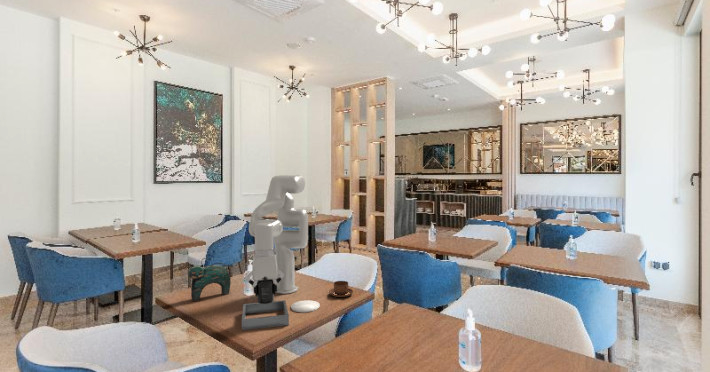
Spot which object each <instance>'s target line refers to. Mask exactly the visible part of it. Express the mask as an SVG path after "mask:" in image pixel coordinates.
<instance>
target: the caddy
mask: <svg viewBox="0 0 710 372" xmlns="http://www.w3.org/2000/svg"><path fill="white" fill-rule="evenodd" d="M287 306H288V305H287V301H286V300H285V299H284V300H274V301H273V302H271V303H268V304H260V303H258V302H253V303H243V306H242V315H241V330H242V331H248V330H257V329H266V328H274V327H283V326H285V327H286V326H289V325H290V324H289V323H290V321H289V320H290V319H289V317H290V314H289V311H288V307H287ZM276 311H277V312H279V311H283V314H281V315H280V314H279V315H271V316H270V315H269V316H260V317H259V316H258V317H250V318H249V317H248V318H246V316H247V314H248V315H250V314H257V313H258V314H259V313H268V312H276Z"/></svg>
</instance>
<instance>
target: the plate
mask: <svg viewBox="0 0 710 372" xmlns="http://www.w3.org/2000/svg"><path fill="white" fill-rule="evenodd" d="M319 307H321V305H320V302H318V301H315V300H309V299H307V300H299V301H295V302H293V303H292V304H291V305H290V309H291V310H292V311H293V312H296V313H302V314H303V313H311V311H312V312H315V311H317V310H319V309H320V308H319ZM318 308H319V309H318Z"/></svg>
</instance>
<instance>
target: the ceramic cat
mask: <svg viewBox="0 0 710 372" xmlns="http://www.w3.org/2000/svg"><path fill="white" fill-rule="evenodd" d="M205 259H206V260H208V261H210V259H209V257H204V258H202V259H201V262H200V263H201V265H200V264H191V265H190V267H189V268H188V270H187V273H188V274H187V275H188V276H189V278H190V279H191V284H190V285H191V288H190V289H191V290H190V291H191V292H190V293H191V295H190V296H191V301H192V300H193V302H197V301H196V300H199V301H200V300H201V295H202V292H203V290H204V289H205V287H206V286H209V285H210V284H217V285H219V286H220V289H221V295H223V296H225V294H226V295H229V294H230V292H231V291H230V288H231V275H230V273H229V271H228V267H227V265H226V264H225V263H223V262H215V263H213V264H210V265H207V266H204V264H203V260H205ZM224 266H225V267H224Z"/></svg>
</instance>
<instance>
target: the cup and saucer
mask: <svg viewBox="0 0 710 372" xmlns="http://www.w3.org/2000/svg"><path fill="white" fill-rule="evenodd" d="M334 292H335V294H337V295H334V294H333V293H334ZM348 292H349V293H350V294H348V295H345V294H347V293H348ZM353 293H354V289H352V288H349V282H348V281H345V280H337V281H334V282H333V288H331V289H330V290H329V294H330V295H331V296H333V297H335V298H336V297H337V298H346V297H349V296H351V295H353Z"/></svg>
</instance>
